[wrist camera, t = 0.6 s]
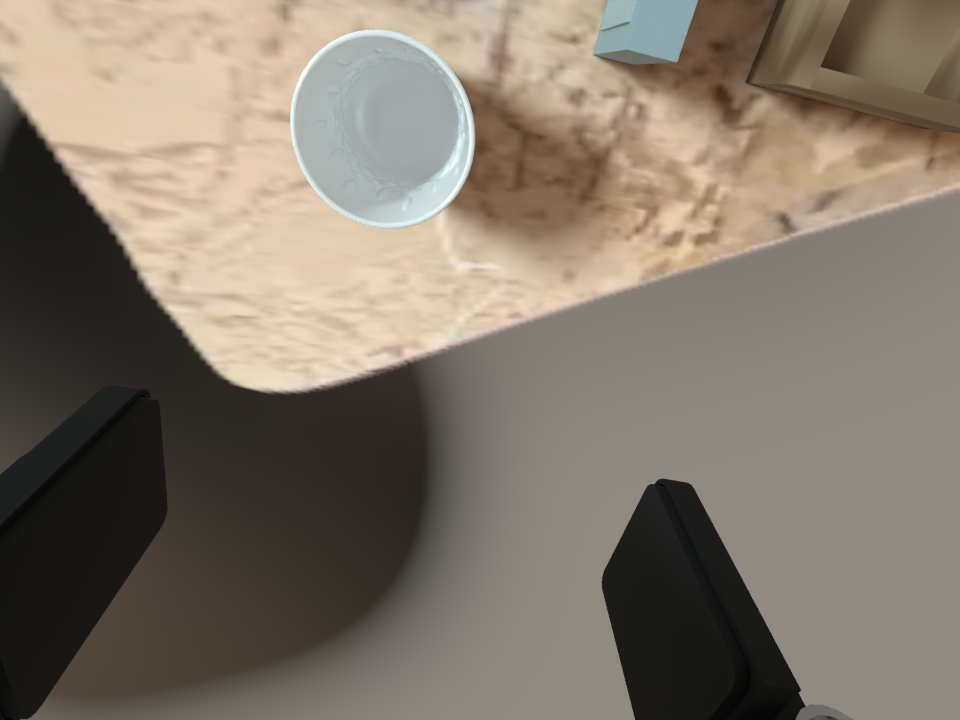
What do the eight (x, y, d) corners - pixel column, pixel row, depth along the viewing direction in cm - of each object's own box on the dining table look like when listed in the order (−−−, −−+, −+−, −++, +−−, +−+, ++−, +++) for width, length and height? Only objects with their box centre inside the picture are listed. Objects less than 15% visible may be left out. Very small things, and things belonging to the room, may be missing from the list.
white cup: (490, 70, 30) (499, 69, 21) (452, 203, 34) (446, 249, 25) (354, 20, 29) (304, -2, 20) (330, 165, 32) (279, 199, 24)
